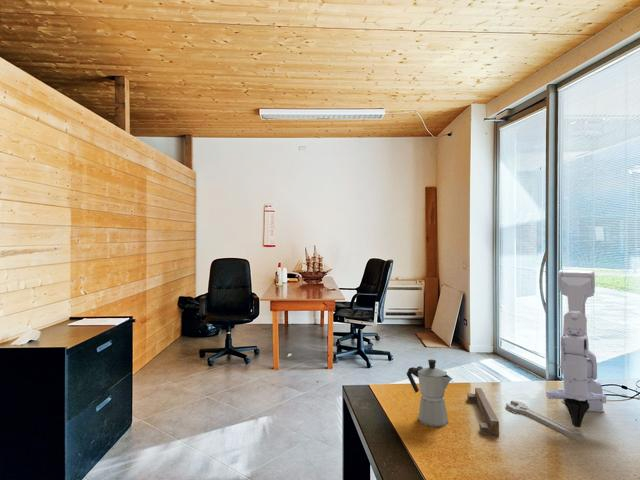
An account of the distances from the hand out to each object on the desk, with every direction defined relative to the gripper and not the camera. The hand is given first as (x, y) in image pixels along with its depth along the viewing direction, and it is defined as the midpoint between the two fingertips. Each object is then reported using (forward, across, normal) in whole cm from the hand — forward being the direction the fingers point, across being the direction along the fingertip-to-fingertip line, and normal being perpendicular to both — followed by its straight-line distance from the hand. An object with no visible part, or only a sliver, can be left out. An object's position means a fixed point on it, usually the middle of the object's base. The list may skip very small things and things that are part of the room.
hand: (576, 425), depth 110 cm
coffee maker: (+1, -40, -2) cm, 40 cm away
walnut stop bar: (+1, -25, +4) cm, 25 cm away
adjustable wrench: (+2, -8, +4) cm, 9 cm away
